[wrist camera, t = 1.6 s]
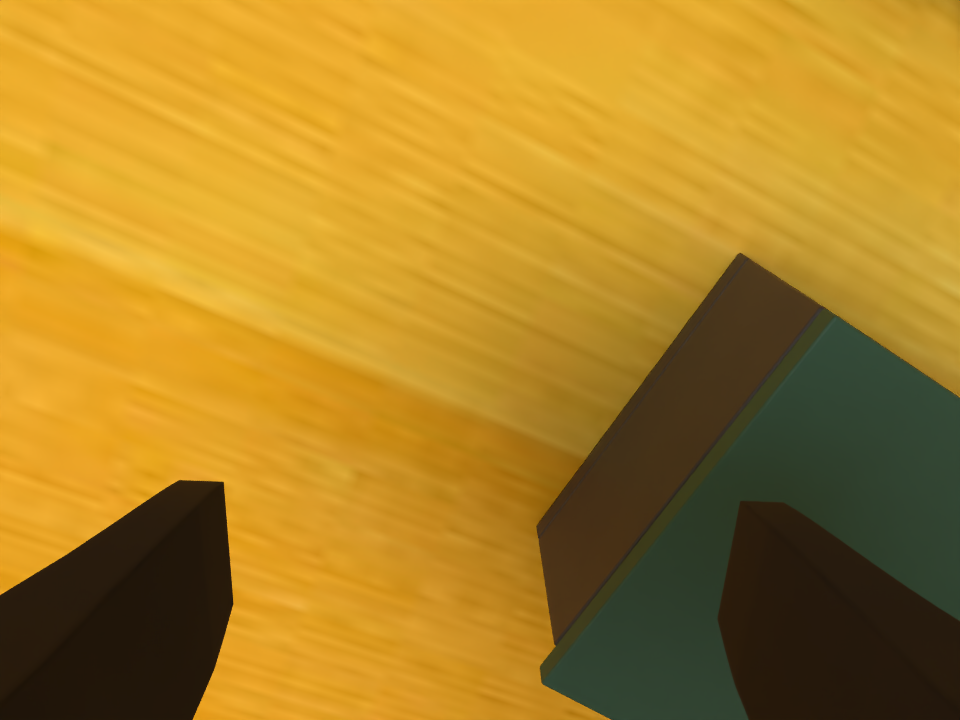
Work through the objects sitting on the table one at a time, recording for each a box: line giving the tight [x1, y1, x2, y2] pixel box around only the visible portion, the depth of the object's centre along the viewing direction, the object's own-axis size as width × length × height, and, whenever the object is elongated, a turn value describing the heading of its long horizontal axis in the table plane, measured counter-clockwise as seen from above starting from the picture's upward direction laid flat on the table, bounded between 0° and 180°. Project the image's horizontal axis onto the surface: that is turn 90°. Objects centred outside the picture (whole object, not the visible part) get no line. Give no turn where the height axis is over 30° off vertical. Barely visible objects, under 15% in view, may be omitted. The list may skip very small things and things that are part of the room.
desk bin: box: [537, 253, 826, 645], centre depth 21 cm, size 9×14×5 cm, turn 58°
